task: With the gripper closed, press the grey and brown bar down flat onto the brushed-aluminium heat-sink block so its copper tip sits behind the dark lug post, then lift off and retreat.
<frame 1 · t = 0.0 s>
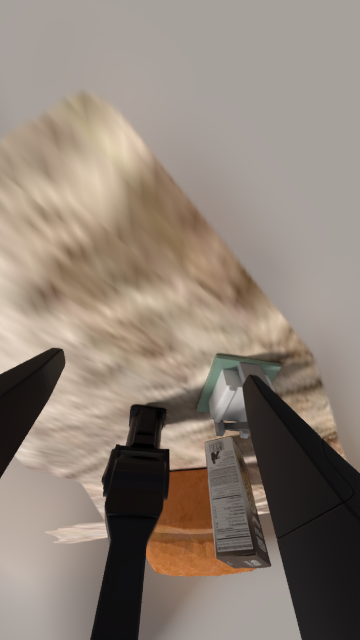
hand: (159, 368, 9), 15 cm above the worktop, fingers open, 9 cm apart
bread: (197, 477, 52), on the worktop
coffee box: (223, 447, 43), on the worktop
heatsink board: (234, 387, 32), on the worktop
grey and brown bar: (244, 429, 27), point 7 cm above the worktop, hinge at 28.0°
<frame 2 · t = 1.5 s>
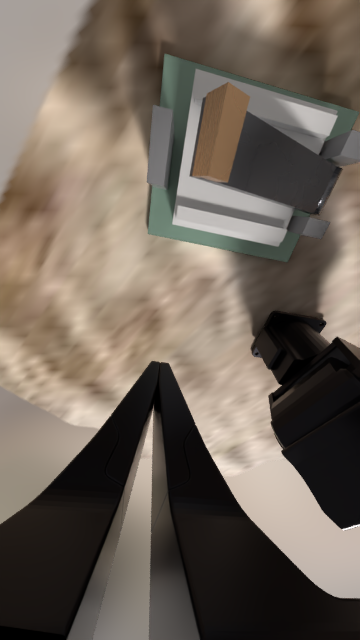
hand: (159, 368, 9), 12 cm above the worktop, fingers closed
heatsink board: (236, 182, 15), on the worktop
grey and brown bar: (283, 172, 10), point 7 cm above the worktop, hinge at 28.0°
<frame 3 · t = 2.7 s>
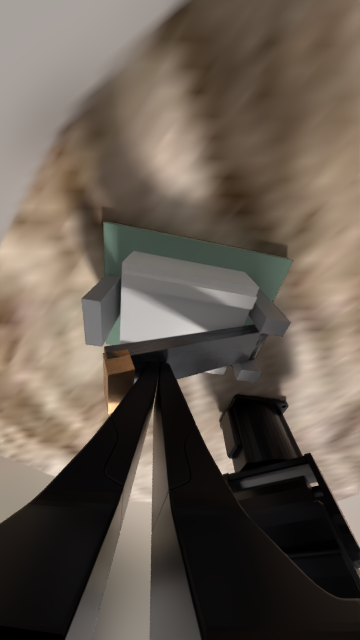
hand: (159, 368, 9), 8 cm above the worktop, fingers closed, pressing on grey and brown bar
heatsink board: (187, 303, 16), on the worktop
grey and brown bar: (201, 358, 10), point 7 cm above the worktop, hinge at 26.7°, touching gripper
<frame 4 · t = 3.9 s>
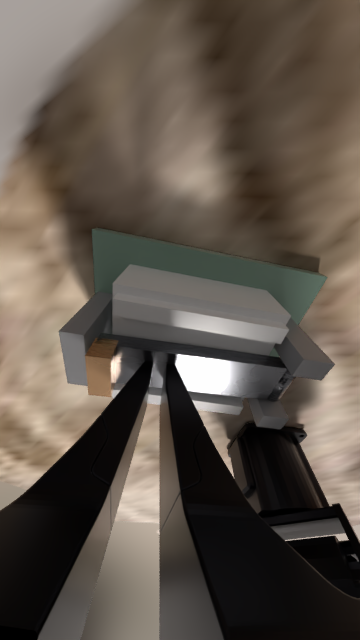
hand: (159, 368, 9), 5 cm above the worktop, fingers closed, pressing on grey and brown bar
heatsink board: (194, 323, 13), on the worktop
grey and brown bar: (198, 375, 9), point 5 cm above the worktop, hinge at 2.1°, touching gripper
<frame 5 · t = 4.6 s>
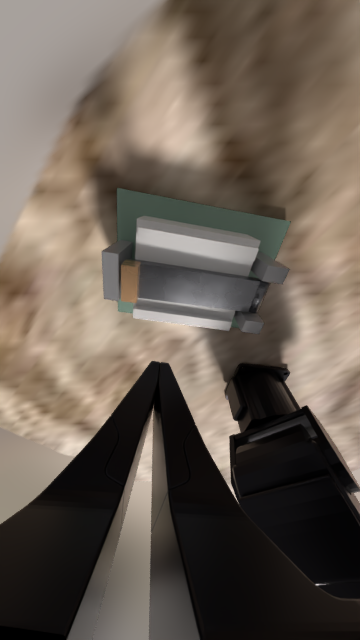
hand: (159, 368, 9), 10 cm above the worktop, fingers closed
heatsink board: (193, 269, 17), on the worktop
grey and brown bar: (197, 289, 13), point 5 cm above the worktop, hinge at 2.0°
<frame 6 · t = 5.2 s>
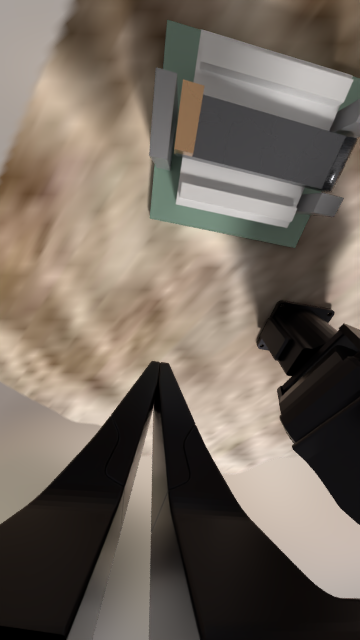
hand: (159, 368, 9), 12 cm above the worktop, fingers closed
heatsink board: (242, 162, 15), on the worktop
grey and brown bar: (267, 146, 11), point 5 cm above the worktop, hinge at 2.0°
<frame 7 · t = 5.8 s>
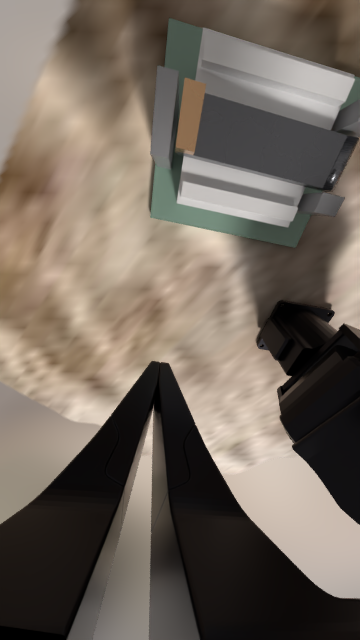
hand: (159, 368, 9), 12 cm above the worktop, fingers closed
heatsink board: (243, 161, 15), on the worktop
grey and brown bar: (268, 145, 10), point 5 cm above the worktop, hinge at 2.0°
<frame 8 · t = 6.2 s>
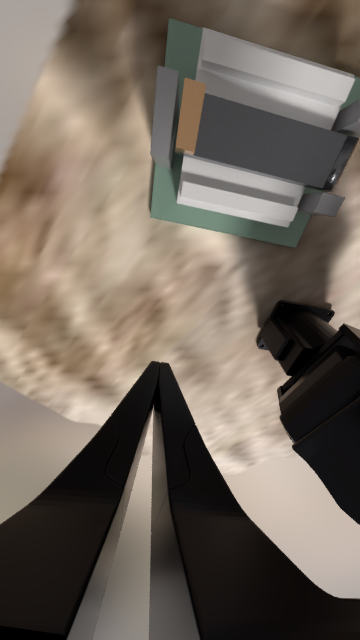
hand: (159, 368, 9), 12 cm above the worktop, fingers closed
heatsink board: (243, 161, 15), on the worktop
grey and brown bar: (268, 145, 10), point 5 cm above the worktop, hinge at 2.0°
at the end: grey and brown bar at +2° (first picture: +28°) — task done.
